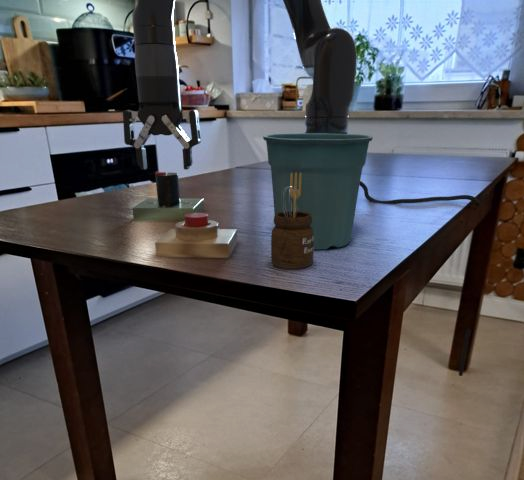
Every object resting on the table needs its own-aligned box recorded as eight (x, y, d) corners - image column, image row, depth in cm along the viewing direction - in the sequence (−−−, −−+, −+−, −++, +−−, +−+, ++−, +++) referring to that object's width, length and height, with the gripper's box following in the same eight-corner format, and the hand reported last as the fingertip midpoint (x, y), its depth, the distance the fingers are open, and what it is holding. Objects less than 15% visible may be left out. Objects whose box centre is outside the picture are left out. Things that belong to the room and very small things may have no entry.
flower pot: (315, 225, 95) (318, 130, 88) (385, 242, 84) (396, 134, 76) (243, 239, 86) (241, 135, 79) (311, 261, 74) (315, 141, 67)
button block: (237, 242, 85) (236, 217, 83) (228, 258, 76) (227, 231, 75) (171, 241, 86) (169, 217, 84) (156, 257, 77) (153, 230, 76)
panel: (204, 210, 108) (203, 197, 107) (194, 221, 99) (193, 207, 98) (148, 210, 109) (147, 197, 108) (133, 220, 100) (131, 206, 99)
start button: (210, 224, 81) (210, 212, 80) (206, 229, 78) (205, 217, 77) (188, 223, 81) (187, 212, 80) (182, 229, 78) (181, 217, 77)
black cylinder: (182, 200, 105) (180, 170, 102) (177, 204, 101) (174, 173, 98) (161, 200, 105) (158, 170, 103) (155, 204, 101) (152, 173, 99)
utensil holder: (268, 269, 71) (267, 179, 66) (274, 257, 77) (274, 172, 71) (311, 271, 70) (314, 179, 65) (314, 258, 76) (317, 172, 70)
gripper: (200, 75, 96) (205, 167, 103) (126, 75, 97) (135, 166, 104) (191, 73, 89) (197, 171, 96) (111, 74, 90) (123, 171, 98)
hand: (165, 169), depth 100 cm, fingers open, 8 cm apart
